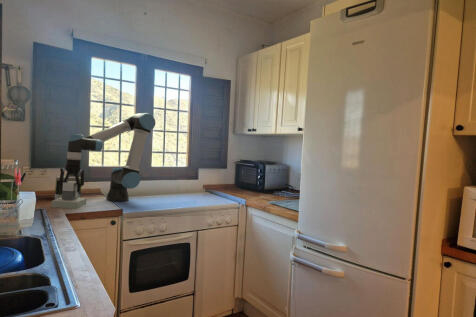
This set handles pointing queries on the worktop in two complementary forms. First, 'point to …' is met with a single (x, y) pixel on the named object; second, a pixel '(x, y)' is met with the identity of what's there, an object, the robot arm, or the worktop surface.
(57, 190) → the tea box
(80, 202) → the stand
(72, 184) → the block
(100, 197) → the worktop surface
